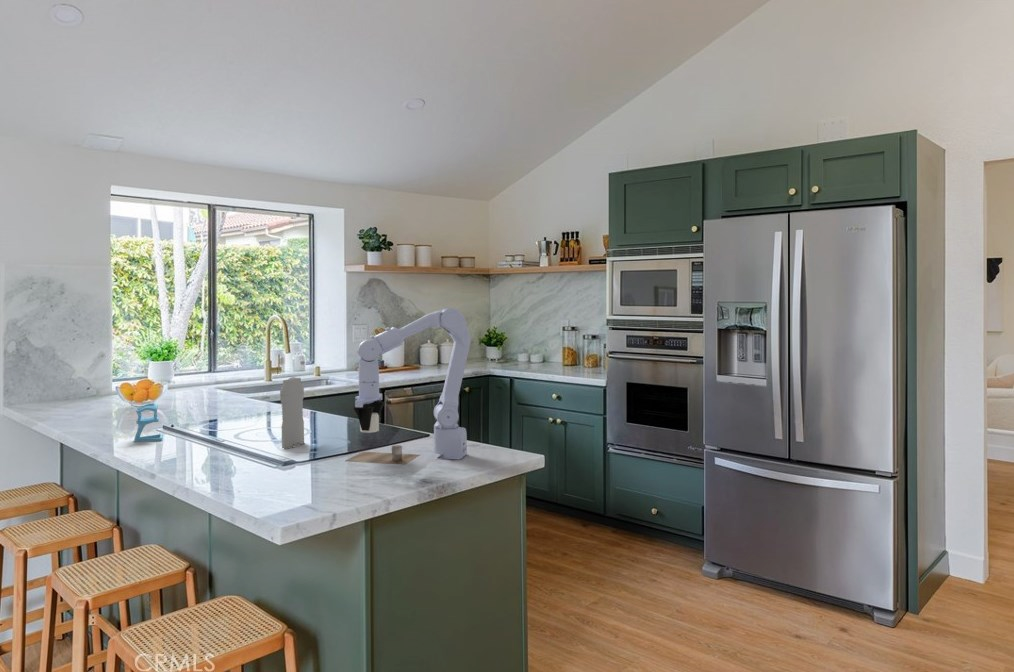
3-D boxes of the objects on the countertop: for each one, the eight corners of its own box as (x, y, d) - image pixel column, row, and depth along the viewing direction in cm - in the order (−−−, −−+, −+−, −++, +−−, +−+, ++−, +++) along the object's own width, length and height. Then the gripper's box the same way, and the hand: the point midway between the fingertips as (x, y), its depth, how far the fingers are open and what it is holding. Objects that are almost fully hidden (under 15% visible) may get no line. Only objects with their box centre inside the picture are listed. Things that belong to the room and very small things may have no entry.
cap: (381, 429, 206) (380, 412, 206) (374, 432, 201) (373, 415, 201) (365, 428, 207) (364, 412, 207) (357, 432, 203) (357, 414, 202)
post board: (420, 459, 206) (420, 441, 205) (405, 469, 194) (404, 449, 194) (362, 456, 210) (362, 438, 209) (344, 466, 198) (344, 446, 198)
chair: (135, 438, 236) (133, 403, 236) (162, 436, 240) (161, 401, 239) (133, 443, 229) (132, 406, 229) (162, 440, 233) (160, 404, 232)
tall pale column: (287, 449, 219) (285, 379, 218) (276, 448, 221) (275, 378, 219) (309, 443, 229) (308, 375, 228) (299, 442, 230) (298, 375, 229)
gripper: (366, 378, 212) (367, 423, 212) (344, 384, 197) (345, 432, 198) (388, 379, 210) (389, 424, 211) (368, 385, 196) (368, 433, 197)
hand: (369, 428), depth 204 cm, fingers closed on cap, 5 cm apart
